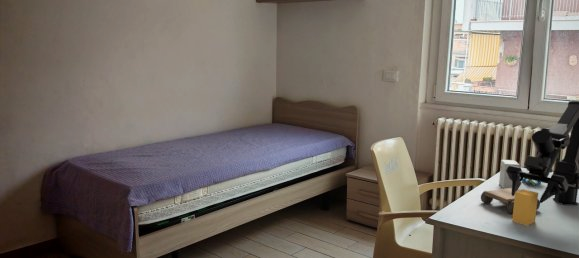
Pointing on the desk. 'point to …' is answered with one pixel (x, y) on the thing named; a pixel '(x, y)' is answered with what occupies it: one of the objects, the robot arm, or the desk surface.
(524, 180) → the blue angled frame
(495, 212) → the desk surface
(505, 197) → the dolly
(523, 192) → the yellow upright rectangular block
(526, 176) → the robot arm
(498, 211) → the desk surface
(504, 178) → the small box
